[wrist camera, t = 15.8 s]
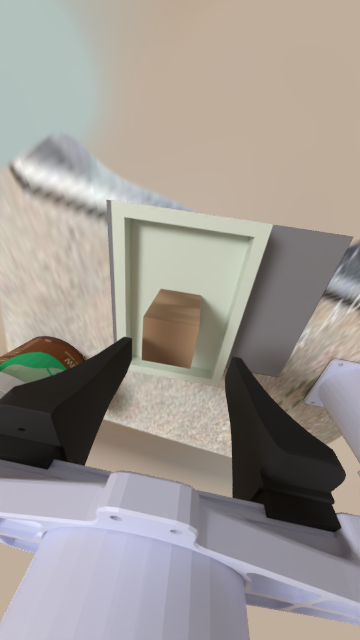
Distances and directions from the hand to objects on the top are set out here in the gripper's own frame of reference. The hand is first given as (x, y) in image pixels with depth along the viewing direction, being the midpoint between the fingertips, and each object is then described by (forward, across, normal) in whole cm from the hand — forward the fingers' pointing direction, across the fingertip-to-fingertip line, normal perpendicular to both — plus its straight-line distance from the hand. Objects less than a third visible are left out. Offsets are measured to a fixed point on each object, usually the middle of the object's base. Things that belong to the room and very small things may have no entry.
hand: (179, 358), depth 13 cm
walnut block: (+7, +1, 0) cm, 7 cm away
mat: (+9, -2, -1) cm, 10 cm away
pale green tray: (+9, +1, -1) cm, 9 cm away
